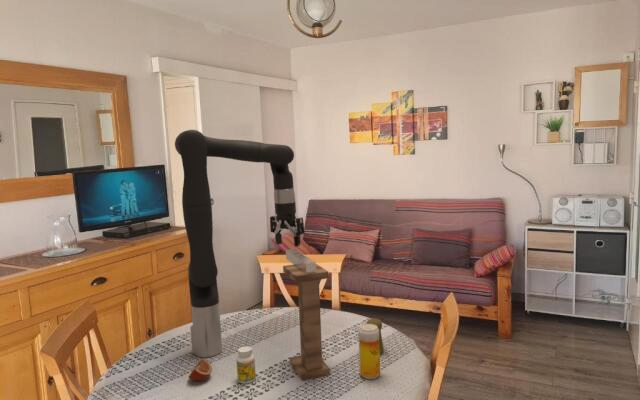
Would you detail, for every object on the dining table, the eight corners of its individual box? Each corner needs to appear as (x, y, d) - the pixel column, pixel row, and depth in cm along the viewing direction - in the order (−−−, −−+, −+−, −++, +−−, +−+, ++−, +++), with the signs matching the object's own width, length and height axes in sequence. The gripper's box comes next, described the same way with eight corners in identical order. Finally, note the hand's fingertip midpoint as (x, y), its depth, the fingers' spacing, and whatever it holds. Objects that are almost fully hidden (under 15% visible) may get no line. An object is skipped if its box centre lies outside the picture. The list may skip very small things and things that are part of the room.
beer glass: (381, 379, 138) (380, 330, 137) (360, 380, 138) (359, 331, 137) (379, 369, 144) (377, 322, 143) (359, 370, 144) (357, 323, 143)
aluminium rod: (286, 259, 156) (285, 250, 155) (294, 257, 157) (294, 249, 156) (306, 273, 137) (306, 263, 137) (316, 272, 138) (315, 262, 138)
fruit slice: (194, 372, 148) (193, 357, 147) (215, 372, 147) (214, 356, 147) (185, 385, 139) (184, 369, 139) (207, 385, 139) (206, 369, 138)
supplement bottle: (258, 376, 143) (257, 346, 142) (251, 385, 138) (249, 353, 137) (242, 374, 145) (240, 344, 144) (234, 383, 140) (232, 352, 139)
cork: (385, 355, 154) (384, 323, 153) (366, 355, 154) (365, 323, 153) (382, 347, 160) (382, 316, 159) (365, 347, 160) (364, 316, 159)
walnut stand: (287, 363, 151) (283, 265, 147) (317, 357, 154) (313, 261, 151) (300, 381, 139) (296, 276, 135) (332, 374, 142) (328, 271, 139)
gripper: (263, 201, 170) (266, 245, 173) (293, 203, 162) (296, 249, 164) (277, 198, 176) (280, 241, 178) (306, 200, 168) (310, 244, 170)
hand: (288, 245), depth 171 cm, fingers open, 8 cm apart
